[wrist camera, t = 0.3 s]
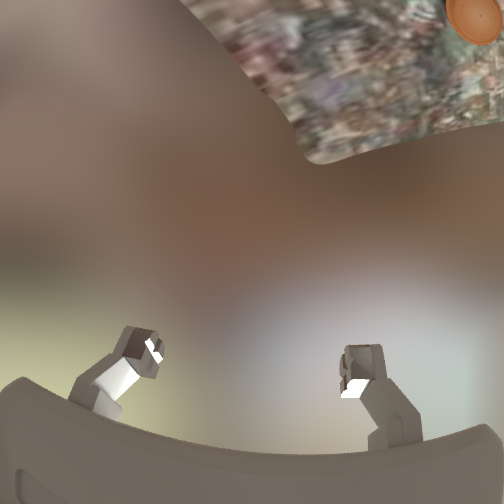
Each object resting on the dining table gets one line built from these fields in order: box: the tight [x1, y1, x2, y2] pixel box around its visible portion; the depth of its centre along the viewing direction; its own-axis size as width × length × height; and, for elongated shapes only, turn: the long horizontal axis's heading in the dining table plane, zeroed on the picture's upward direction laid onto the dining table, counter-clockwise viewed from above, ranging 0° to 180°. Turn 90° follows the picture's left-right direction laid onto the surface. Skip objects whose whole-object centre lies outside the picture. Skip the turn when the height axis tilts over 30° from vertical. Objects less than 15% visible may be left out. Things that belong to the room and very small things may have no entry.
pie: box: [445, 0, 503, 45], centre depth 19 cm, size 15×16×5 cm
